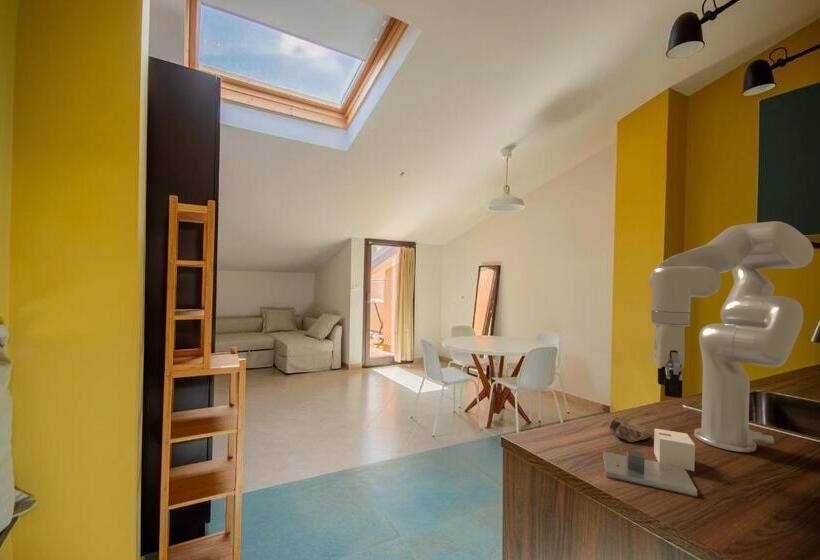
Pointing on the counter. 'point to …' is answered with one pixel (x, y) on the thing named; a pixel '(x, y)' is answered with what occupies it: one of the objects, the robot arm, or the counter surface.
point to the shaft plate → (648, 472)
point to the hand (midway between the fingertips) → (669, 390)
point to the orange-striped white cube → (674, 448)
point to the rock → (628, 430)
